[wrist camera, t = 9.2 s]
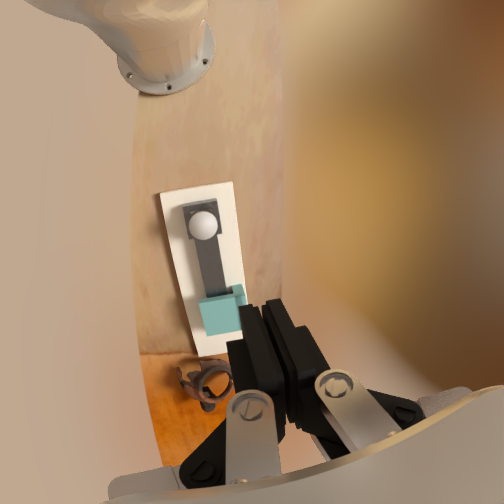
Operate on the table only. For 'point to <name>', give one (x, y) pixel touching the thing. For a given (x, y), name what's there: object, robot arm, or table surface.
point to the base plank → (187, 258)
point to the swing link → (208, 250)
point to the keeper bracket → (223, 312)
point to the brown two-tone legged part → (205, 393)
